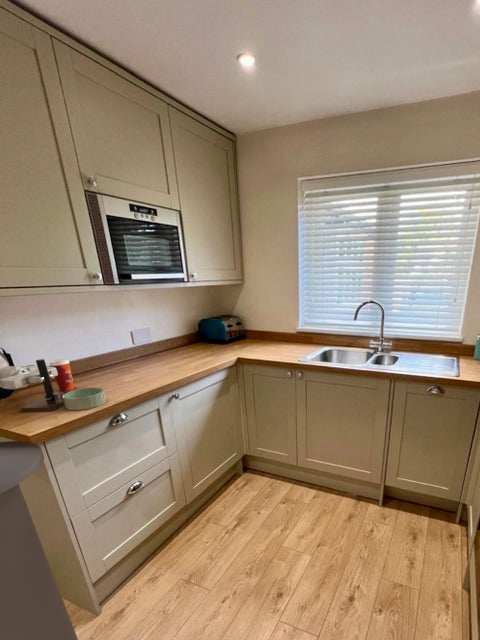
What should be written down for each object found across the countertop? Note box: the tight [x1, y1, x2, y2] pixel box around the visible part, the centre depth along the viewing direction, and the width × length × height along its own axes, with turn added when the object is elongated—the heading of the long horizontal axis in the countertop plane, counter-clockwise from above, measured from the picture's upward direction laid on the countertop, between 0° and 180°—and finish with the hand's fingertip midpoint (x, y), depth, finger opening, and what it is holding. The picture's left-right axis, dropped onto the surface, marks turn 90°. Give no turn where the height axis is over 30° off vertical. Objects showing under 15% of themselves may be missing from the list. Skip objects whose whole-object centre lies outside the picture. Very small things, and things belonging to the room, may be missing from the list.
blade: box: [35, 358, 64, 401], centre depth 135 cm, size 9×9×17 cm
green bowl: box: [62, 386, 107, 411], centre depth 136 cm, size 14×14×5 cm
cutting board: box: [20, 391, 70, 413], centre depth 139 cm, size 20×12×2 cm, turn 2°
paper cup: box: [48, 358, 75, 392], centre depth 152 cm, size 8×8×14 cm
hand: (47, 378), depth 134 cm, fingers closed on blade, 3 cm apart
